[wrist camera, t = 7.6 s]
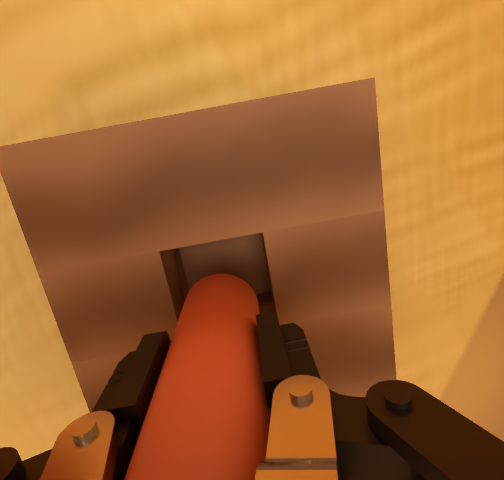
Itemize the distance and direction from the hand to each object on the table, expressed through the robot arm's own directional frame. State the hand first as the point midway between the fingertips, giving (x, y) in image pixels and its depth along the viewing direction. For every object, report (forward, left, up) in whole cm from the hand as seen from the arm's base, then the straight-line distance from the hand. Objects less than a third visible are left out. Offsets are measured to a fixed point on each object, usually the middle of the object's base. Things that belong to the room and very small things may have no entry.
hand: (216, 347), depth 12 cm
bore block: (0, 0, -10) cm, 10 cm away
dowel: (0, 0, -3) cm, 3 cm away
